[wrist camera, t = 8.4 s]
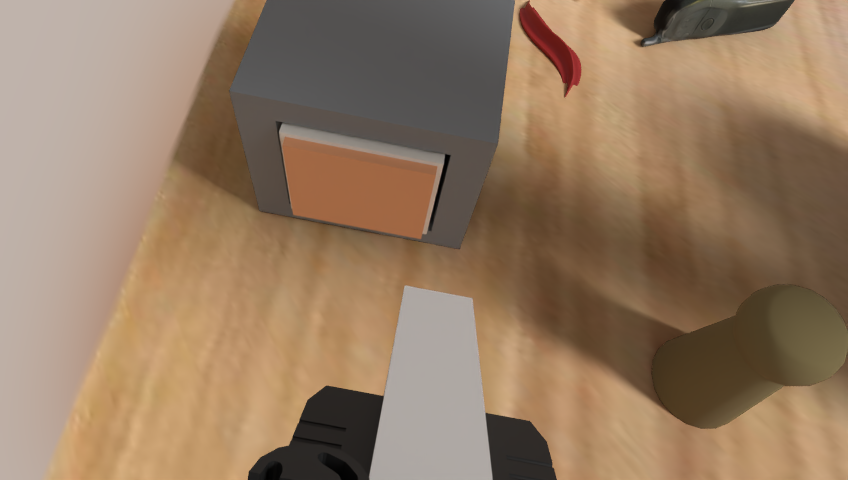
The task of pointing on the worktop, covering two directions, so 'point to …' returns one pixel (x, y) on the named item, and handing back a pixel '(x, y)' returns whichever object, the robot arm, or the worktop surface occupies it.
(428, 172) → the orange drawer
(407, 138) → the gray box
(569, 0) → the worktop surface
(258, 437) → the worktop surface
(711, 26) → the mobile phone
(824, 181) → the worktop surface
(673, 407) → the cork
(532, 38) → the cayenne pepper
